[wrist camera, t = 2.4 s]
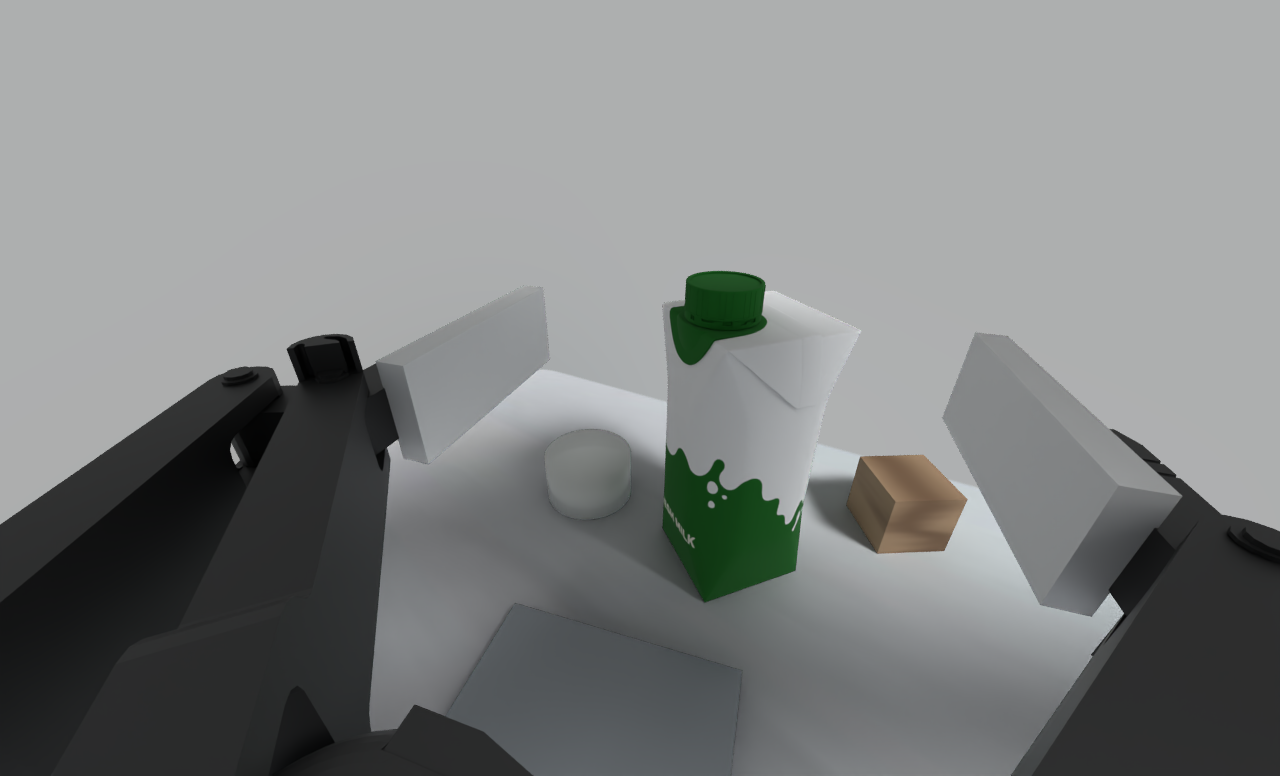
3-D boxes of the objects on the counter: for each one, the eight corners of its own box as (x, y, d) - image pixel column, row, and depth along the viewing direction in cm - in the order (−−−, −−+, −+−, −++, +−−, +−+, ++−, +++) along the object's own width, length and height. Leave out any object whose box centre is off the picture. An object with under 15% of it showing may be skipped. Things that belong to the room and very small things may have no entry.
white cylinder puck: (641, 473, 41) (641, 436, 39) (614, 529, 35) (613, 489, 33) (570, 459, 43) (566, 423, 41) (533, 510, 37) (527, 471, 35)
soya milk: (646, 523, 36) (649, 264, 26) (747, 495, 38) (782, 252, 29) (698, 620, 28) (728, 312, 19) (817, 577, 31) (895, 290, 22)
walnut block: (905, 503, 38) (923, 454, 35) (943, 551, 33) (967, 499, 31) (846, 505, 37) (860, 456, 35) (877, 554, 33) (895, 501, 31)
